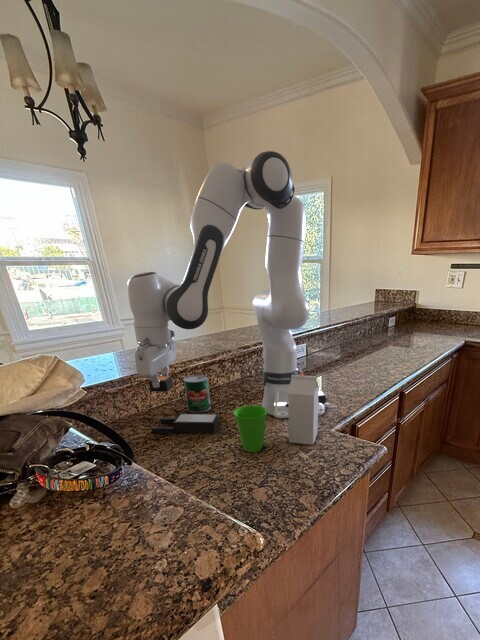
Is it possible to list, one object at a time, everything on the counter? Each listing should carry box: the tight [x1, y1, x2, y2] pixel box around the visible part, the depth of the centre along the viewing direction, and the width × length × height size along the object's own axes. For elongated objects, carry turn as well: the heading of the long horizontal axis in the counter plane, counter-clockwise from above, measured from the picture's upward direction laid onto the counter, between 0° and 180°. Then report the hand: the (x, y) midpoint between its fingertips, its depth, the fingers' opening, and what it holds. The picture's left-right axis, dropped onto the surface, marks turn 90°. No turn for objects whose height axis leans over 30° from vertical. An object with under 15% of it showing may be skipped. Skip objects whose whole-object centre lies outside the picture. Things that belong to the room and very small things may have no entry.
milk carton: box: [288, 375, 320, 446], centre depth 99 cm, size 7×7×19 cm
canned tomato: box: [182, 374, 212, 414], centre depth 121 cm, size 8×8×11 cm
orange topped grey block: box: [148, 375, 174, 393], centre depth 104 cm, size 5×5×3 cm
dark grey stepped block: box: [151, 413, 220, 434], centre depth 109 cm, size 18×8×3 cm, turn 90°
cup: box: [233, 404, 268, 453], centre depth 96 cm, size 9×9×11 cm
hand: (161, 383), depth 104 cm, fingers closed on orange topped grey block, 5 cm apart
